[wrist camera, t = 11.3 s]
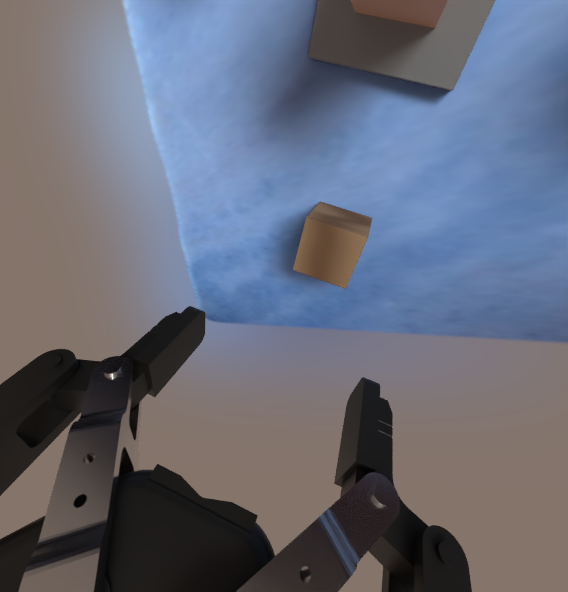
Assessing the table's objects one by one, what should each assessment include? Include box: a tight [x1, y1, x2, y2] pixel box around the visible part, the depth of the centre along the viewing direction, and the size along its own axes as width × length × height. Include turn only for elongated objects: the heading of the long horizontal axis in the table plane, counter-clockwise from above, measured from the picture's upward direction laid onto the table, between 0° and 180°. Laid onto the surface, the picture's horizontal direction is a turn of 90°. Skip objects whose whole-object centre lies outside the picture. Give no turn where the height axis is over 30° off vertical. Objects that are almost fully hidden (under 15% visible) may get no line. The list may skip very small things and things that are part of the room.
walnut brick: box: [293, 202, 372, 289], centre depth 24 cm, size 5×5×5 cm
